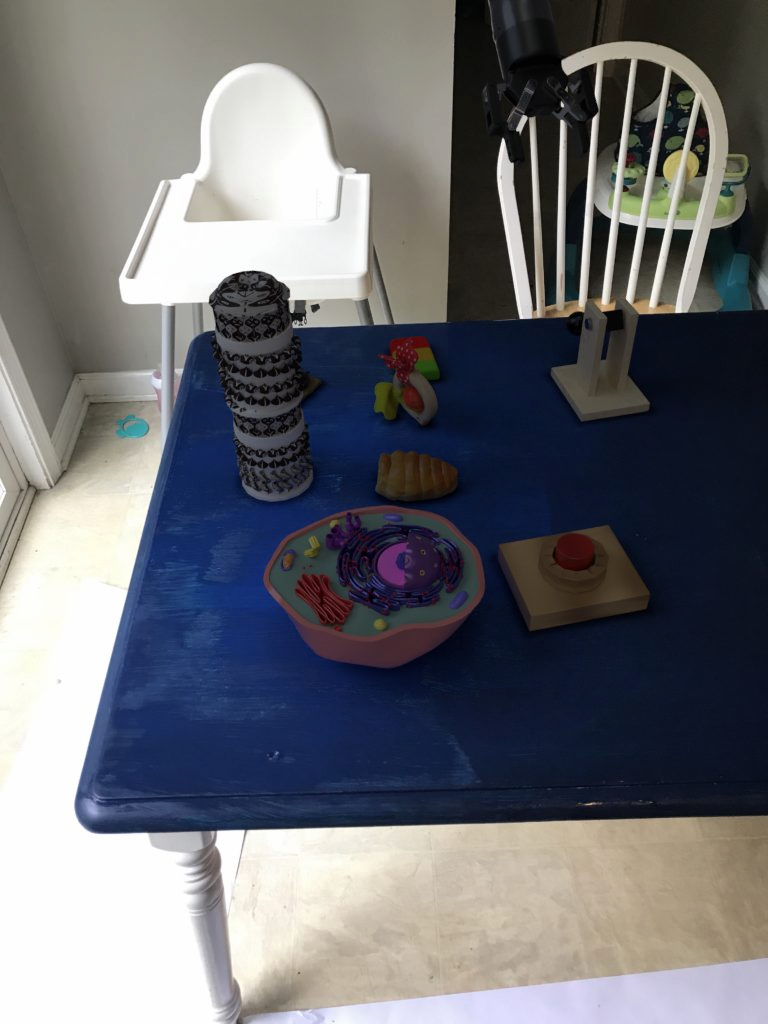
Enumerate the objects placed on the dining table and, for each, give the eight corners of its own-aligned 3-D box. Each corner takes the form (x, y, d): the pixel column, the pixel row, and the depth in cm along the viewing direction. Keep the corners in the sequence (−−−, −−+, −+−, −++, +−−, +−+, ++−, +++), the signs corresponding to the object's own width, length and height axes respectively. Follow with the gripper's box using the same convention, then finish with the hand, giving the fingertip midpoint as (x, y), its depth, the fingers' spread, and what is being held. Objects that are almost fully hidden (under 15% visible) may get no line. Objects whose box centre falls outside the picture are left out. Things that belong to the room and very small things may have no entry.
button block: (605, 539, 88) (611, 512, 86) (646, 609, 81) (654, 581, 78) (497, 559, 87) (499, 531, 84) (529, 631, 80) (532, 603, 77)
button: (583, 542, 83) (586, 530, 82) (598, 568, 80) (600, 555, 79) (549, 549, 83) (551, 536, 81) (562, 574, 80) (564, 561, 79)
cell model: (293, 559, 88) (280, 477, 80) (483, 569, 86) (488, 486, 78) (258, 691, 76) (238, 609, 68) (479, 707, 73) (484, 625, 66)
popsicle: (426, 345, 119) (426, 333, 118) (448, 404, 108) (448, 392, 107) (388, 349, 118) (387, 338, 117) (406, 410, 107) (406, 397, 106)
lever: (563, 337, 113) (561, 313, 112) (585, 334, 113) (583, 310, 113) (603, 335, 100) (601, 308, 100) (628, 332, 101) (626, 305, 100)
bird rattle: (440, 425, 108) (392, 379, 110) (469, 371, 99) (416, 321, 101) (407, 448, 105) (359, 399, 107) (434, 394, 96) (381, 342, 97)
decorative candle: (222, 490, 97) (179, 293, 80) (267, 446, 103) (235, 254, 86) (288, 513, 93) (258, 313, 76) (330, 466, 99) (311, 270, 82)
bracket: (550, 375, 112) (560, 291, 104) (613, 365, 113) (627, 282, 105) (581, 421, 104) (594, 335, 96) (648, 411, 105) (667, 324, 97)
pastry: (457, 467, 98) (458, 442, 96) (457, 506, 93) (458, 480, 91) (378, 467, 99) (376, 441, 96) (374, 505, 94) (373, 479, 91)
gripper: (480, 21, 100) (508, 154, 100) (588, 9, 102) (616, 138, 103) (463, 57, 107) (489, 180, 107) (564, 45, 110) (590, 165, 110)
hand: (551, 160), depth 105 cm, fingers open, 8 cm apart
